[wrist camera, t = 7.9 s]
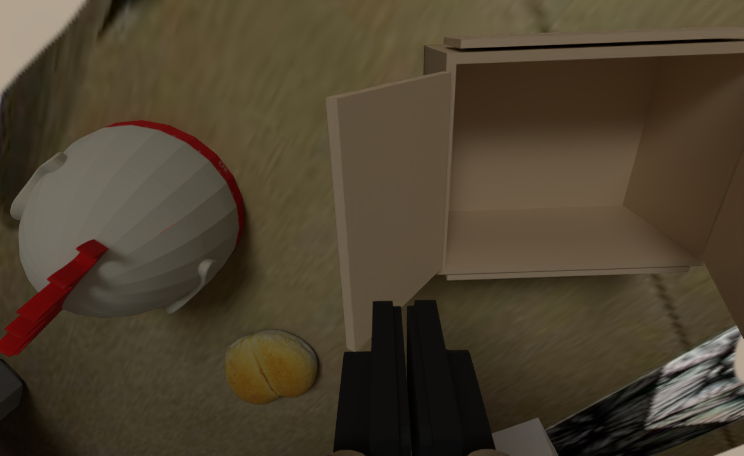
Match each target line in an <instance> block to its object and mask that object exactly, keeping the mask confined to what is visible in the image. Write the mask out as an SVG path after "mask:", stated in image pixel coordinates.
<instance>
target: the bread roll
mask: <svg viewBox="0 0 744 456" xmlns="http://www.w3.org/2000/svg"><path fill="white" fill-rule="evenodd" d="M316 373H317V359H316V355H315V353H314V351H313V350H312V349H311V347H310V346H309V345H308V344H307V343H306V342H305V341H304V340H302V339H300V338H298V337H296V336H295V335H292V334H290V333H287V332H285V331H282V330H263V331H259V332H257V333H255V334H252V335H245V336H243V337H241V338H239V339H237V340H236V341H234V342H233V343H232V344H231V345H230V346H229V347H228V348H227V350H226V354H225V374H226V381H227V383H228V384H229V386H230V387H231V389H232V391H233V392H234V393H235V394H236V395H237V396H238V397H239V398H240V399H242V400H244V401H246V402H249V403H252V404H268V403H270V402H272V401H274V400H276V399H277V398H278V397H279V396H283V397H290V398H291V397H298V396H300V395H302V394H304V393H305V392H307V391H308V390H309V389H310V387H311V386H312V385H313V383H314V381H315V378H316Z"/></svg>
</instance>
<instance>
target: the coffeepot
mask: <svg viewBox="0 0 744 456" xmlns="http://www.w3.org/2000/svg"><path fill="white" fill-rule="evenodd" d="M22 394H23V384H22V382H21V380H20V378H19V376H18V375H17V374H16V373H15V371H14V370H13V369H12V368H11V367H9V366H8V365H7V364H6V363H4V362H3V361H1V360H0V420H1V419H2V418H4V417H5V416H6V415H7V414H9V413H10V412H11V411H12V410H14V409H15V408H16V407H17V406H19V403H20V399H21V396H22Z"/></svg>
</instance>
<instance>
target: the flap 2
mask: <svg viewBox="0 0 744 456" xmlns="http://www.w3.org/2000/svg"><path fill="white" fill-rule="evenodd" d="M702 259H703V261H704V263H705V265H706V267H707V269H708V271H709V273H710V275H711V277H712V279H713V280H714V282H715V284H716V286H717V288H718V290H719V292H720V294H721V296H722V298H723V300H724V302H725V304H726V306H727V308H728V310H729V311H730V313H731V315H732V317H733V319H734V321H735V323H736V325H737V327H738V329H739V331H740V333H741V335H742V337H743V339H744V151H743V154H742V156H741V159H740V161H739V164H738V167H737V169H736V172H735V174H734V177H733V179H732V182H731V184H730V187H729V190H728V192H727V195H726V197H725V200H724V202H723V205H722V207H721V210H720V213H719V215H718V218H717V220H716V223H715V225H714V228H713V230H712V233H711V236H710V238H709V241H708V243H707V246H706V248H705V251H704V254H703V256H702Z"/></svg>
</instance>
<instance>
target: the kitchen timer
mask: <svg viewBox="0 0 744 456" xmlns="http://www.w3.org/2000/svg"><path fill="white" fill-rule="evenodd" d="M10 213H11V216H12V217H13V218H14V219H16V220H21V221H20V226H19V252H20V260H21V263H22V265H23V268H24V270H25V273H26V275H27V278H28V280H29V281H30V282H31V284H32V285H33V286H34V288H35V289H36V290H37V292H38V293H37V294H36V295H35V296H34V297H33V298H32V299H30V300H29V301H28V302H27V303H26V304H25V305H23V306H22V307H21V308H20V309H19V310H18V311H17V312H16V313H18V314H19V315H20V316H19V317H17V318H16V319H15V320H14V321H13V322H12V323H11V324H9V325H8V326H7V327H6V328H5V329H4V330H6V331H8V332H9V333H7V334H6V335H5V336H4V337H3V338H2V339H1V340H0V352H1V353H3V354H5V355H7V356H9V357H11V356H12V355H15V356H17V355H18V354H19V353H20V352H21V351H22V350H23V349H24V348H25V347H26V346H27V345H28V344H29V343H30V342H31V341H32V340H33V339H34V338H35V337H36V336H37V335H38V334H39V333H40V332H41V331H42V330H43V329H44V328H45V327H46V326H47V325H48V324H49V323H50V322H51V321H52V320H53V319H54V318H55V317H56V315H57V314H58V313H59V312H60V311H61V310H62V309H63V310H66V311H69V312H72V313H75V314H78V315H84V316H91V317H99V318H110V317H122V316H132V315H137V314H142V313H145V312H148V311H151V310H154V309H157V308H159V307H162V306H164V308H165V310H166V312H167V313H168V314H171V313H174V312H175V311H177V310H178V309H180V308H181V307H182V306H183V305H184V304H186V303H187V302H188V301H189V300H190V299H191V298H192V297H193V296H195V295H196V294H197V293H198V292H199V291H200V290H201V289H202V288H203V287H204V286H205V285H206V284H207V283H209V282H210V281H211V280H212V279H213V277H214V276H215V275H216V274H217V272H218V271H219V270H220V269H221V268H222V267H223V266H224V264H225V263H226V261H227V260H228V258H229V257H230V255H231V253H232V252H233V250H234V249H235V247H236V245H237V244H238V242H239V240H240V238H241V234H242V229H243V225H244V221H245V218H244V208H243V198H242V196H241V193H240V191H239V188H238V186H237V184H236V181H235V179H234V177H233V175H232V174H231V172H230V171H229V170H228V168H227V167H226V166H225V164H224V163H223V162H222V161H221V159H220V158H219V157H218V155H217V154H215V153H214V152H213V151H212V150H210V149H209V148H208V147H207V146H205V145H204V144H203V143H202V142H200V141H199V140H198V139H197V138H195V137H193V136H191V135H189V134H187V133H185V132H183V131H180V130H178V129H176V128H174V127H172V126H170V125H165V124H159V123H154V122H149V121H143V120H140V121H130V122H120V123H115V124H112V125H109V126H107V127H104V128H102V129H100V130H97V131H95V132H93V133H91V134H89V135H87V136H84V137H82V138H80V139H79V140H77V141H75V142H74V143H73V144H72V145H70V146H69V147H68V148H67V149H66V150H65V151H64V152H63V153H62V152H58V153H57V154H56V155H54V156H53V157H52V158H50V159H49V160H48V161H47V162H45V163H44V164H42V165H41V166H40V167H39V168H38V169H37V170H36V172H35V173H34V174H33V176H32V177H31V179H30V180H29V181H28V183H27V184H26V185H25V187H24V188H23V189H22V191H21V192H20V193H19V194H18V196H17V197H16V198H15V200H14V202H13V204H12V206H11V210H10Z"/></svg>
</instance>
